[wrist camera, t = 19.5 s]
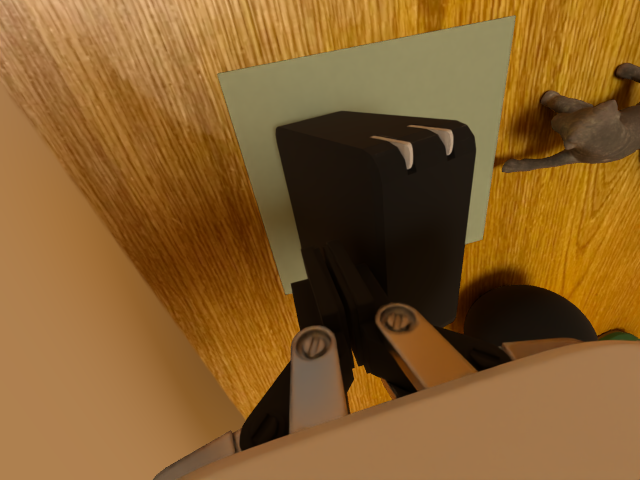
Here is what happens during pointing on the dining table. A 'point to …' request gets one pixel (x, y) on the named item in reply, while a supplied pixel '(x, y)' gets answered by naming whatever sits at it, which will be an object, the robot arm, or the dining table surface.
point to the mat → (370, 109)
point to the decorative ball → (525, 316)
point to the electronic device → (386, 199)
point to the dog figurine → (589, 129)
